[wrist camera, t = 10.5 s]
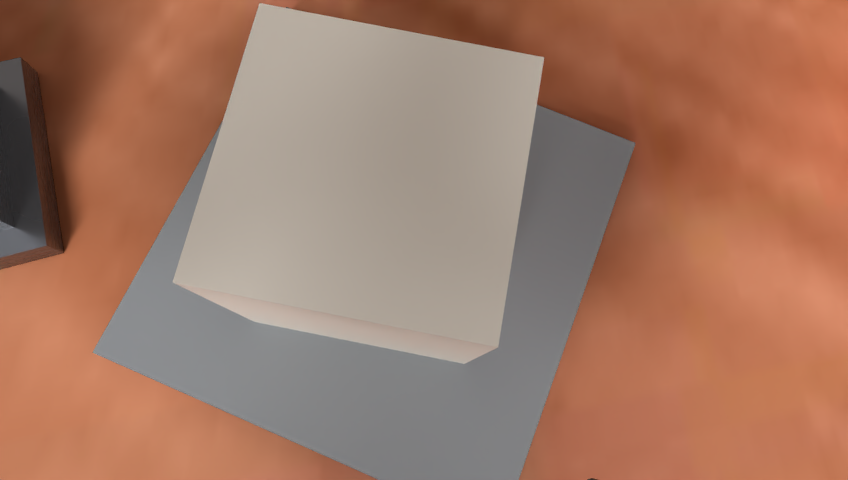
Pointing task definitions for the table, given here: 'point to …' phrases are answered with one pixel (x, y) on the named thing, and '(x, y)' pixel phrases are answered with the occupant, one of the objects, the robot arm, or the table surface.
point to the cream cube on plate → (366, 185)
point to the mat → (385, 368)
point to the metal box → (25, 171)
